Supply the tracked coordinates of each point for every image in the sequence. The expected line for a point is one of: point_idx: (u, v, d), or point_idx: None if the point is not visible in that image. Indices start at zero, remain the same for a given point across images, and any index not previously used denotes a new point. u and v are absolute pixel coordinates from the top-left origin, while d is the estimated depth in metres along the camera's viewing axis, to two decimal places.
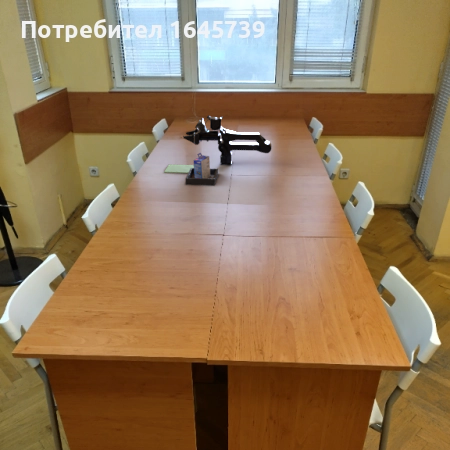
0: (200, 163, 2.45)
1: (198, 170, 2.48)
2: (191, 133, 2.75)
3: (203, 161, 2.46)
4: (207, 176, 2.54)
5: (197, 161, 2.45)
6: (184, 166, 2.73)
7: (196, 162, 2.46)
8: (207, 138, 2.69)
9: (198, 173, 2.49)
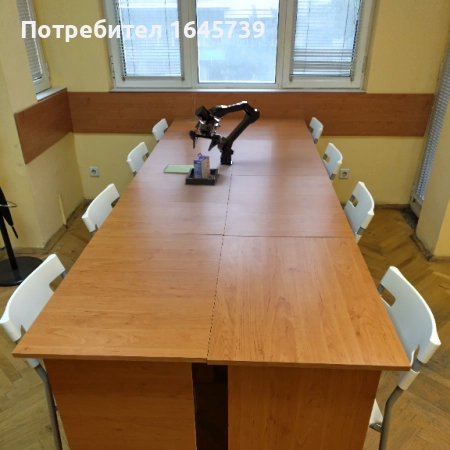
0: (200, 163, 2.45)
1: (198, 170, 2.48)
2: (195, 143, 2.59)
3: (203, 161, 2.46)
4: (207, 176, 2.54)
5: (197, 161, 2.45)
6: (184, 166, 2.73)
7: (196, 162, 2.46)
8: (212, 130, 2.60)
9: (198, 173, 2.49)
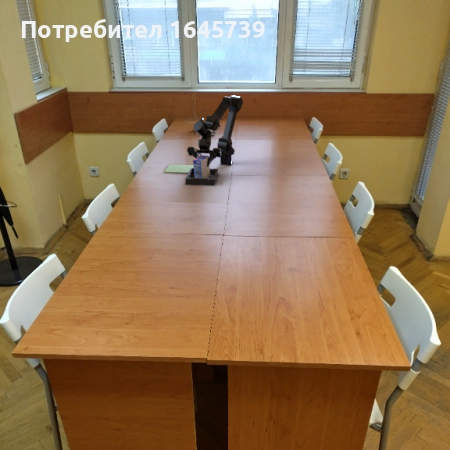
0: (200, 163, 2.45)
1: (198, 170, 2.48)
2: None
3: (203, 161, 2.46)
4: (207, 175, 2.54)
5: (197, 161, 2.45)
6: (184, 166, 2.73)
7: (195, 162, 2.46)
8: None
9: (198, 173, 2.49)
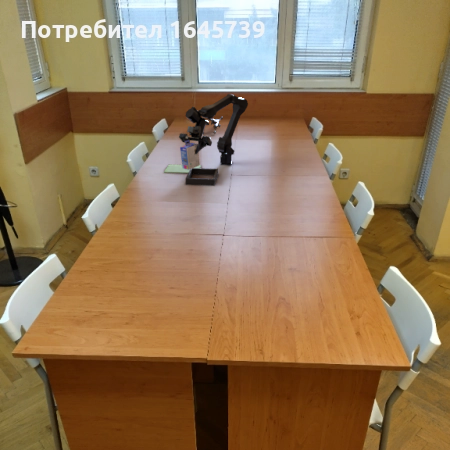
0: (185, 150, 2.46)
1: (184, 157, 2.49)
2: None
3: (189, 148, 2.47)
4: (195, 163, 2.54)
5: (183, 148, 2.47)
6: None
7: (182, 149, 2.47)
8: (203, 131, 2.54)
9: (184, 160, 2.50)
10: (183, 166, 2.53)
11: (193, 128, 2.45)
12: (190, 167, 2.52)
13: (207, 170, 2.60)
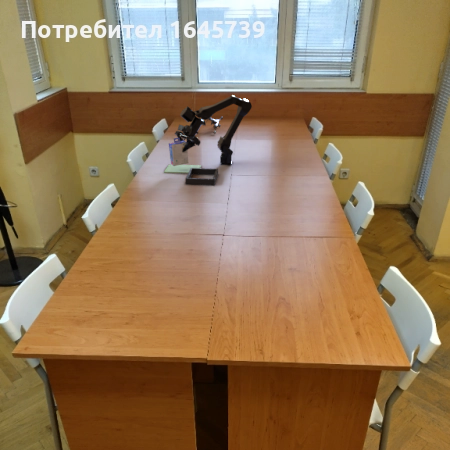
0: (171, 147, 2.56)
1: (171, 153, 2.60)
2: None
3: (175, 145, 2.56)
4: (183, 161, 2.63)
5: (170, 144, 2.57)
6: (184, 166, 2.73)
7: (169, 146, 2.58)
8: (196, 131, 2.60)
9: (171, 156, 2.61)
10: (171, 162, 2.64)
11: (182, 127, 2.54)
12: (176, 164, 2.61)
13: (207, 170, 2.60)
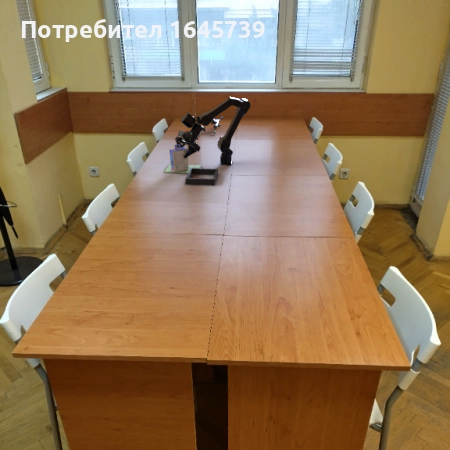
0: (172, 153, 2.58)
1: (171, 160, 2.61)
2: None
3: (176, 152, 2.58)
4: (183, 167, 2.65)
5: (171, 151, 2.59)
6: None
7: (170, 152, 2.60)
8: (196, 137, 2.62)
9: (171, 162, 2.62)
10: (171, 168, 2.66)
11: (182, 132, 2.56)
12: (176, 170, 2.63)
13: (207, 170, 2.60)
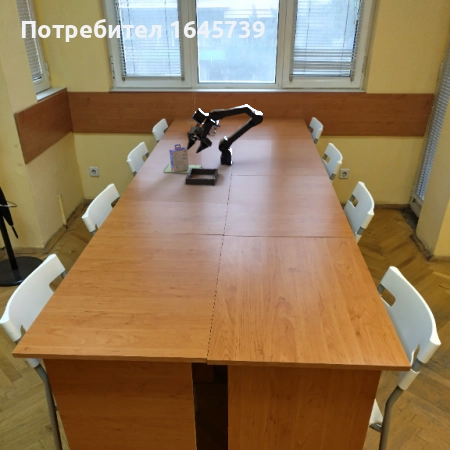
0: (172, 153, 2.58)
1: (171, 160, 2.61)
2: (190, 144, 2.70)
3: (176, 152, 2.58)
4: (183, 167, 2.65)
5: (171, 151, 2.59)
6: None
7: (170, 152, 2.60)
8: (208, 133, 2.66)
9: (171, 162, 2.62)
10: (171, 168, 2.66)
11: (194, 128, 2.59)
12: (176, 170, 2.63)
13: (207, 170, 2.60)
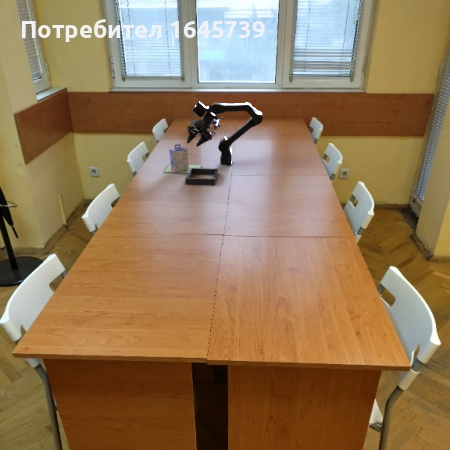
0: (172, 153, 2.58)
1: (171, 160, 2.61)
2: (190, 138, 2.68)
3: (176, 152, 2.58)
4: (183, 167, 2.65)
5: (171, 151, 2.59)
6: None
7: (170, 152, 2.60)
8: (208, 126, 2.64)
9: (171, 162, 2.62)
10: (171, 168, 2.66)
11: (194, 121, 2.58)
12: (176, 170, 2.63)
13: (207, 170, 2.60)
